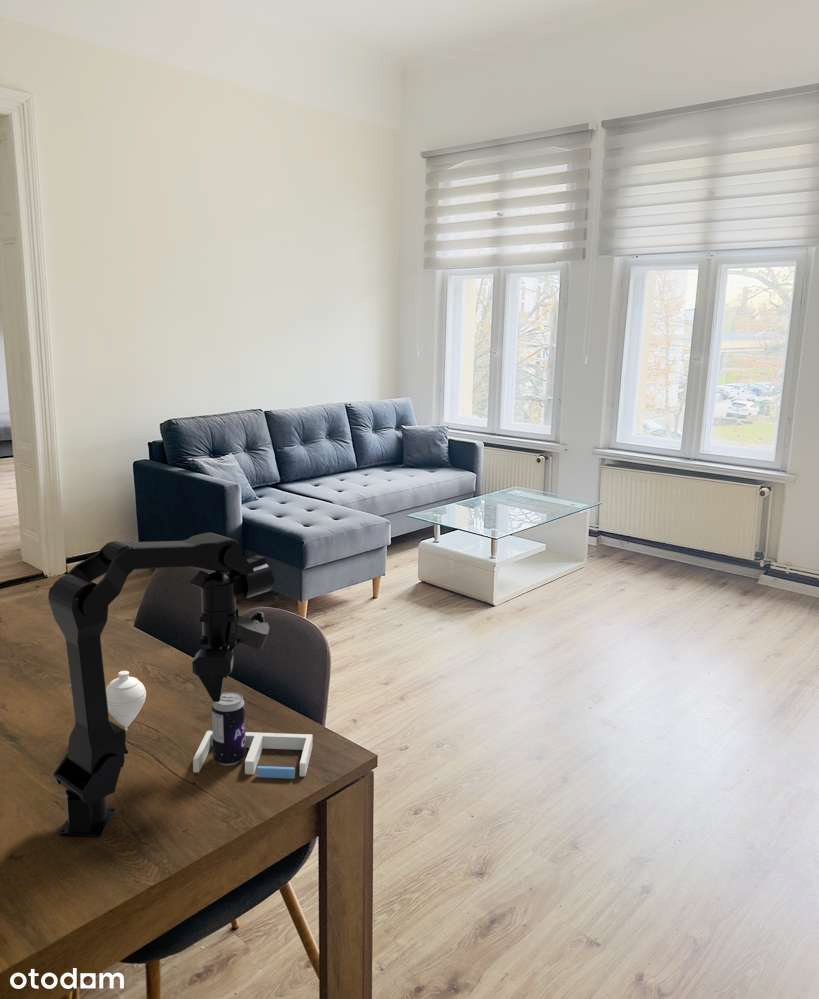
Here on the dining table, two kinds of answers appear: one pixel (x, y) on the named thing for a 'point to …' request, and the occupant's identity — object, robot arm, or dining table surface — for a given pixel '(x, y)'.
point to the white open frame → (256, 745)
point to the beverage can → (228, 729)
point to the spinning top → (125, 698)
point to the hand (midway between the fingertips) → (220, 689)
